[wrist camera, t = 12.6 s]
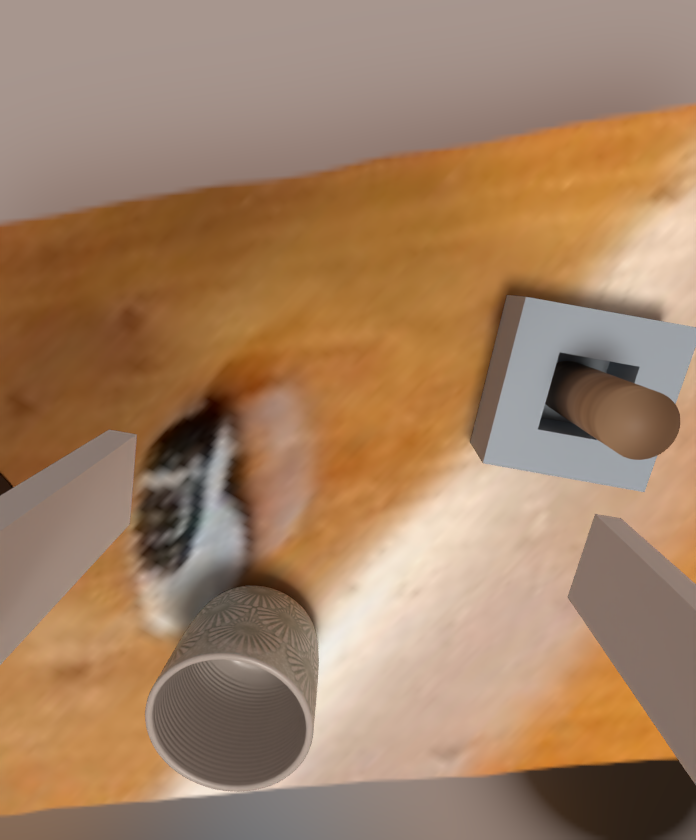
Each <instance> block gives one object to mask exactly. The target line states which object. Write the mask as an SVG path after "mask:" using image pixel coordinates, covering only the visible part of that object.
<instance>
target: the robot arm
mask: <svg viewBox="0 0 696 840" xmlns="http://www.w3.org/2000/svg"><path fill="white" fill-rule="evenodd" d="M136 438H137V434H131V433H125V432H120V431H114V430H108V431H106V432H104V433H103V434H101V435H99V436H98V437H96V438H94V439H93V440H91V441H90V442H88V443H86V444H85V445H83V446H81V447H80V448H78V449H76V450H75V451H73V452H71V453H70V454H68V455H67V456H65V457H63V458H62V459H60V460H58V461H57V462H55V463H53V464H52V465H50V466H48V467H47V468H45V469H43V470H42V471H40V472H39V473H37V474H35V475H34V476H32V477H30V478H29V479H27V480H25V481H24V482H22V483H20V484H19V485H17V486H15V487H14V488H11V486H10V485H9V484H8V482H7V481H6V480H5V479H4V478H3V477H2V476H1V475H0V665H1V664H2V662H3V661H4V660H5V659H6V658H7V657H8V656H9V655H10V654H11V653H12V652H13V651H14V649H15V648H16V647H17V646H18V645H19V644H20V643H21V642H22V641H23V640H24V639H25V637H26V636H27V635H28V634H29V633H30V632H31V631H32V630H33V629H34V628H35V627H36V626H37V624H38V623H39V622H40V621H41V620H42V619H43V618H44V617H45V616H46V615H47V614H48V612H49V611H50V610H51V609H52V608H53V607H54V606H55V605H56V604H57V603H58V602H59V601H60V599H61V598H62V597H63V596H64V595H65V594H66V593H67V592H68V591H69V590H70V589H71V587H72V586H73V585H74V584H75V583H76V582H77V581H78V580H79V579H80V578H81V577H82V575H83V574H84V573H85V572H86V571H87V570H88V569H89V568H90V567H91V566H92V565H93V564H94V562H95V561H96V560H97V559H98V558H99V557H100V556H101V555H102V554H103V553H104V552H105V550H106V549H107V548H108V547H109V546H110V545H111V544H112V543H113V542H114V541H115V540H116V539H117V537H118V536H119V535H120V534H121V533H122V532H123V531H124V530H125V529H126V528H127V527H128V525H129V524H130V515H131V502H132V489H133V477H134V464H135V451H136ZM568 598H569V600H570V601H571V603H572V604H573V606H574V607H575V609H576V610H577V612H578V613H579V615H580V616H581V618H582V619H583V620H584V622H585V623H586V625H587V626H588V628H589V629H590V631H591V632H592V634H593V635H594V637H595V638H596V640H597V641H598V642H599V644H600V645H601V647H602V648H603V650H604V651H605V653H606V654H607V656H608V657H609V659H610V660H611V662H612V663H613V664H614V666H615V667H616V669H617V670H618V672H619V673H620V675H621V676H622V678H623V679H624V681H625V682H626V684H627V685H628V686H629V688H630V689H631V691H632V692H633V694H634V695H635V697H636V698H637V700H638V701H639V703H640V704H641V706H642V707H643V708H644V710H645V711H646V713H647V714H648V716H649V717H650V719H651V720H652V722H653V723H654V725H655V726H656V727H657V729H658V730H659V732H660V733H661V735H662V736H663V738H664V739H665V741H666V742H667V744H668V745H669V747H670V748H671V749H672V751H673V752H674V754H675V755H676V757H677V758H678V760H679V761H680V762H681V764H682V766H683V767H684V769H685V770H686V771H687V773H688V774H689V776H690V777H691V779H692V780H693V782H694V783H695V785H696V584H695V583H694V582H693V581H691V580H690V579H689V578H688V577H687V576H686V575H685V574H683V573H682V572H681V571H680V570H679V569H678V568H677V567H675V566H674V565H673V564H672V563H671V562H670V561H669V560H668V559H666V558H665V557H664V556H663V555H662V554H661V553H660V552H658V551H657V550H656V549H655V548H654V547H653V546H652V545H651V544H649V543H648V542H647V541H646V540H645V539H644V538H643V537H641V536H640V535H639V534H638V533H637V532H636V531H635V530H634V529H632V528H631V527H630V526H629V525H628V524H627V523H626V522H624V521H623V520H622V519H621V518H615V517H610V516H604V515H598V514H595V516H594V519H593V522H592V525H591V528H590V531H589V534H588V537H587V540H586V543H585V546H584V549H583V552H582V555H581V558H580V561H579V564H578V567H577V570H576V573H575V576H574V579H573V582H572V585H571V588H570V591H569V594H568Z"/></svg>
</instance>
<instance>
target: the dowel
mask: <svg viewBox="0 0 696 840" xmlns="http://www.w3.org/2000/svg"><path fill="white" fill-rule="evenodd" d="M545 404H546V405H547V406H548V407H550V408H551V409H553V410H554V411H556V412H557V413H559V414H560V415H562V416H563V417H564V418H566V419H567V420H569V421H570V422H572V423H573V424H575V425H576V426H578V427H579V428H581V429H582V430H584V431H585V432H587V433H588V434H590V435H591V436H593V437H594V438H596V439H597V440H599V441H600V442H602V443H603V444H605V445H606V446H608V447H609V448H611V449H612V450H614V451H615V452H617V453H618V454H620V455H621V456H623V457H626V458H628V459H633V460H644V459H649V458H652V457H655V456H657V455H659V454H661V453H662V452H664V451H665V450H666V449H667V448H668V447H669V446H670V445H671V444H672V443H673V442H674V440H675V438H676V436H677V434H678V432H679V428H680V414H679V411H678V408H677V406H676V405H675V403H674V402H673V401H672V400H671V399H670V398H669V397H668V396H666V395H664V394H662V393H660V392H657V391H654V390H651V389H649V388H646V387H643V386H640V385H638V384H635V383H632V382H629V381H627V380H624V379H621V378H618V377H616V376H613V375H610V374H607V373H605V372H602V371H599V370H596V369H594V368H591V367H588V366H585V365H583V364H580V363H577V362H574V361H561V362H558V363H556V367H555V370H554V374H553V378H552V381H551V385H550V388H549V392H548V395H547V399H546V402H545Z"/></svg>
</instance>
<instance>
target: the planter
mask: <svg viewBox="0 0 696 840" xmlns="http://www.w3.org/2000/svg"><path fill="white" fill-rule="evenodd" d="M318 666H319V656H318V642H317V636H316V632H315V629H314V626H313V623H312V621H311V619H310V618H309V616H308V614H307V613H306V611H305V610H304V609H303V608H302V607H301V605H299V604H298V603H297V602H296V601H295V600H294V599H292V598H291V597H289V596H288V595H286V594H284V593H282V592H280V591H278V590H275V589H272V588H268V587H263V586H242V587H237V588H233V589H230V590H228V591H226V592H224V593H222V594H220V595H218V596H217V597H215V598H214V599H212V600H211V601H210V602H209V603H208V604H207V605H206V606H205V607H204V608H203V609H202V610H201V611H200V612H199V614H198V615H197V616H196V617H195V619H194V620H193V622H192V623H191V624H190V626H189V627H188V629H187V630H186V632H185V633H184V635H183V637H182V638H181V640H180V641H179V643H178V645H177V647H176V648H175V650H174V652H173V653H172V655H171V657H170V658H169V660H168V662H167V663H166V665H165V667H164V669H163V670H162V672H161V674H160V676H159V677H158V679H157V681H156V682H155V684H154V686H153V687H152V689H151V691H150V694H149V696H148V699H147V704H146V710H145V721H146V727H147V731H148V735H149V737H150V740H151V742H152V744H153V746H154V748H155V749H156V751H157V752H158V754H159V755H160V756H161V757H162V759H163V760H164V761H165V762H166V763H167V764H168V765H169V766H170V767H171V768H173V769H174V770H175V771H176V772H178V773H179V774H181V775H182V776H184V777H185V778H187V779H189V780H191V781H193V782H195V783H197V784H200V785H203V786H206V787H209V788H213V789H217V790H223V791H237V792H240V791H251V790H257V789H261V788H265V787H268V786H271V785H273V784H275V783H278V782H279V781H281V780H283V779H285V778H286V777H287V776H289V775H290V774H291V773H293V772H294V771H295V770H296V769H297V768H298V767H299V765H300V764H301V763H302V762H303V760H304V759H305V757H306V755H307V753H308V751H309V749H310V746H311V743H312V738H313V730H314V718H315V707H316V695H317V683H318Z"/></svg>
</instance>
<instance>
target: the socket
mask: <svg viewBox="0 0 696 840" xmlns="http://www.w3.org/2000/svg"><path fill="white" fill-rule="evenodd" d="M695 347H696V327H690V326H685V325H679V324H674V323H668V322H663V321H657V320H652V319H646V318H641V317H635V316H630V315H624V314H619V313H613V312H608V311H602V310H597V309H591V308H585V307H580V306H574V305H569V304H563V303H558V302H552V301H547V300H541V299H536V298H530V297H524V296H514V295H507V297H506V301H505V305H504V309H503V313H502V317H501V321H500V325H499V329H498V333H497V337H496V341H495V345H494V349H493V353H492V357H491V361H490V365H489V369H488V373H487V377H486V381H485V385H484V389H483V393H482V397H481V401H480V405H479V409H478V413H477V417H476V421H475V425H474V429H473V433H472V437H471V441H470V443H471V445H472V446H473V448H474V449H475V451H476V453H477V454H478V456H479V458H480V459H481V461H482V462H483V463H485V464H491V465H496V466H502V467H507V468H513V469H518V470H524V471H530V472H535V473H541V474H546V475H552V476H557V477H563V478H569V479H574V480H580V481H585V482H591V483H596V484H602V485H608V486H613V487H619V488H624V489H630V490H635V491H641V492H645V489H646V486H647V483H648V480H649V477H650V475H651V472H652V469H653V466H654V463H655V460H656V458H657V456H655V457H652V458H649V459H644V460H633V459H628V458H626V457H623V456H621V455H620V454H618V453H617V452H615V451H614V450H612V449H611V448H609V447H608V446H606V445H605V444H603V443H602V442H600V441H599V440H597V439H596V438H594V437H593V436H591V435H590V434H588V433H587V432H585V431H584V430H582V429H581V428H579V427H578V426H576V425H575V424H573V423H572V422H570V421H569V420H567V419H566V418H564V417H563V416H562V415H560V414H559V413H557V412H556V411H554V410H553V409H551V408H550V407H548V406H547V405H546V404H545V402H546V399H547V395H548V392H549V388H550V385H551V381H552V378H553V374H554V370H555V367H556V363H558V362H561V361H574V362H577V363H580V364H583V365H585V366H588V367H591V368H594V369H596V370H599V371H602V372H605V373H607V374H610V375H613V376H616V377H618V378H621V379H624V380H627V381H629V382H632V383H635V384H638V385H640V386H643V387H646V388H649V389H651V390H654V391H657V392H660V393H662V394H664V395H666V396H668V397H669V398H670V399H671V400H672V401H673V402H674V403H675V404H676V401H677V398H678V395H679V392H680V390H681V387H682V384H683V381H684V378H685V375H686V373H687V370H688V367H689V364H690V361H691V358H692V355H693V353H694V350H695Z"/></svg>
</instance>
